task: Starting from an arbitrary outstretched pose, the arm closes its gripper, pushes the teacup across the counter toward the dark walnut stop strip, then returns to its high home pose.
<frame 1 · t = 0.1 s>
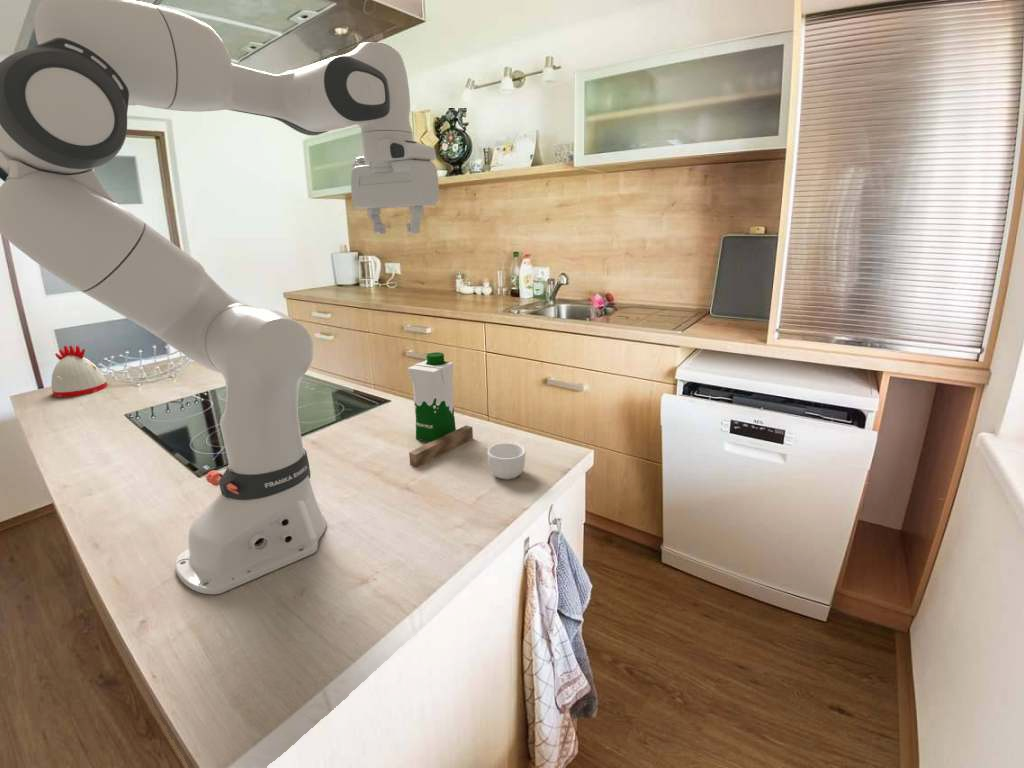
hand: (396, 233, 96), 48 cm above the counter, fingers open, 8 cm apart
crested hat: (81, 390, 168), on the counter
teacup: (503, 473, 107), on the counter
milk carton: (436, 436, 125), on the counter
stop strip: (443, 451, 117), on the counter
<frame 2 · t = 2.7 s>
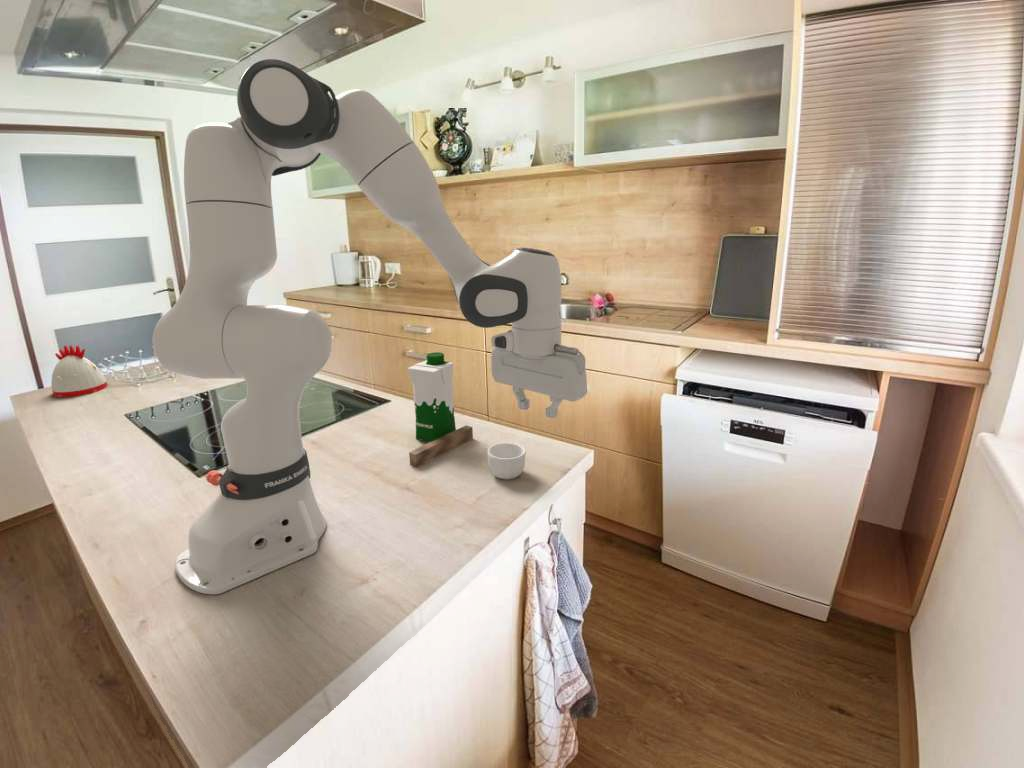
hand: (537, 412, 97), 15 cm above the counter, fingers open, 5 cm apart
nothing on the counter moved.
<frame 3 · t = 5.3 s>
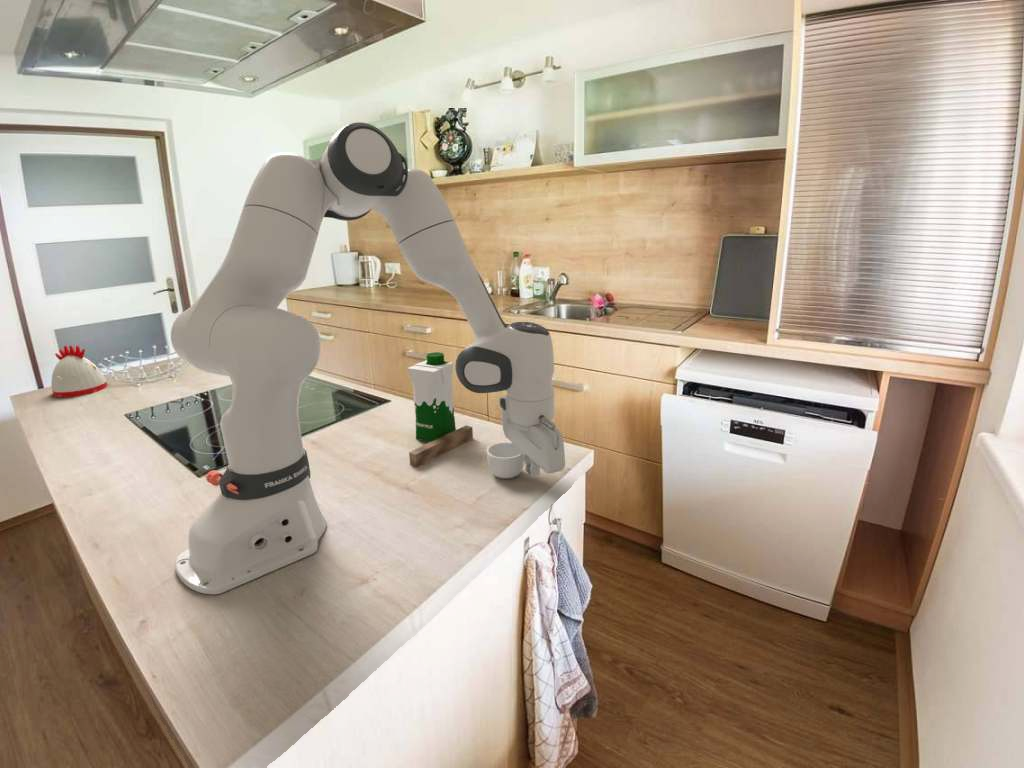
hand: (532, 473, 101), 2 cm above the counter, fingers closed
teacup: (503, 472, 107), on the counter, touching gripper
everything else where it was.
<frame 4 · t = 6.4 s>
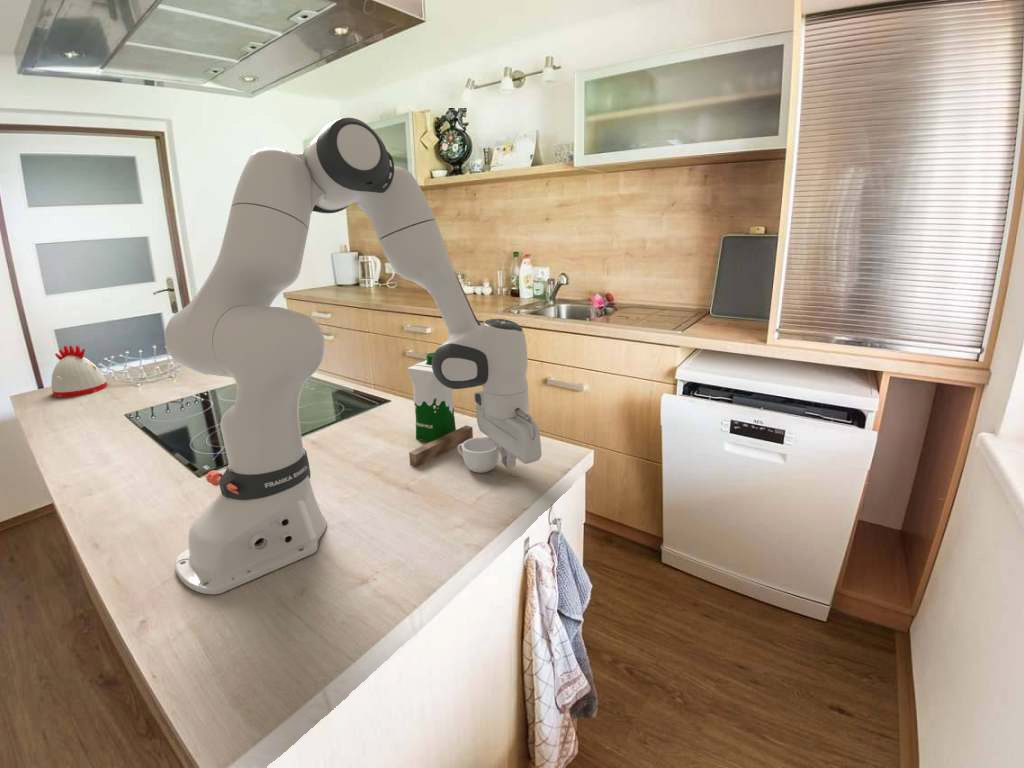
hand: (508, 465, 105), 2 cm above the counter, fingers closed
teacup: (477, 467, 109), on the counter, touching gripper
everything else where it was.
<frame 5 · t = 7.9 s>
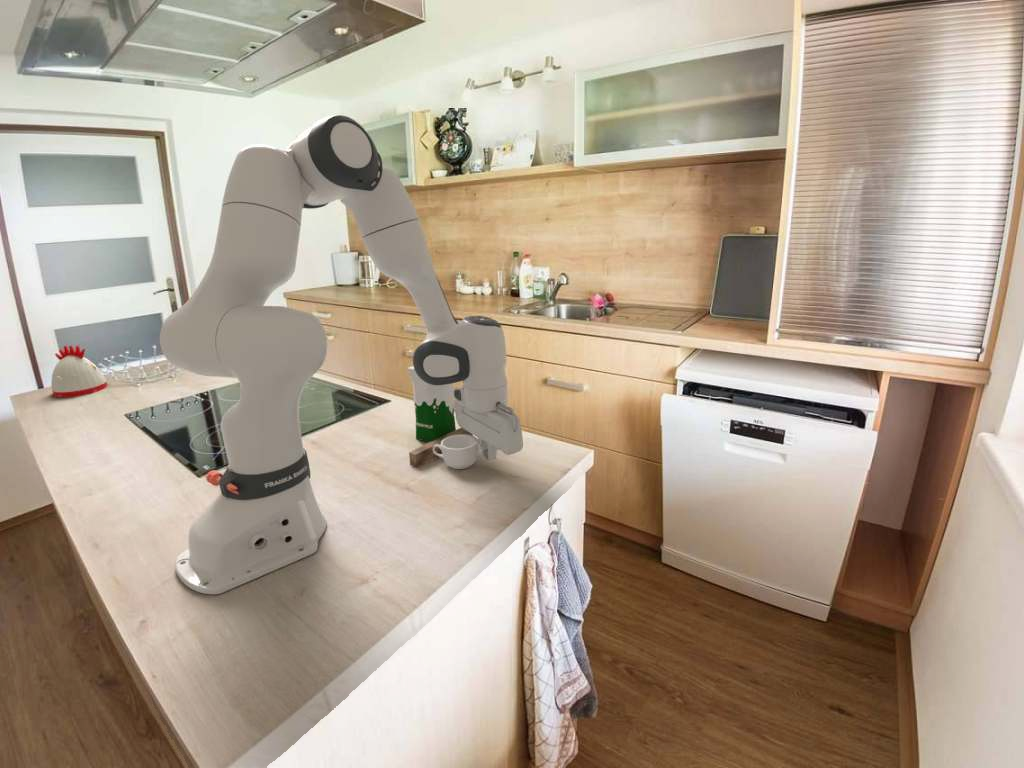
hand: (489, 458, 108), 2 cm above the counter, fingers closed
teacup: (456, 465, 111), on the counter, touching gripper
everything else where it was.
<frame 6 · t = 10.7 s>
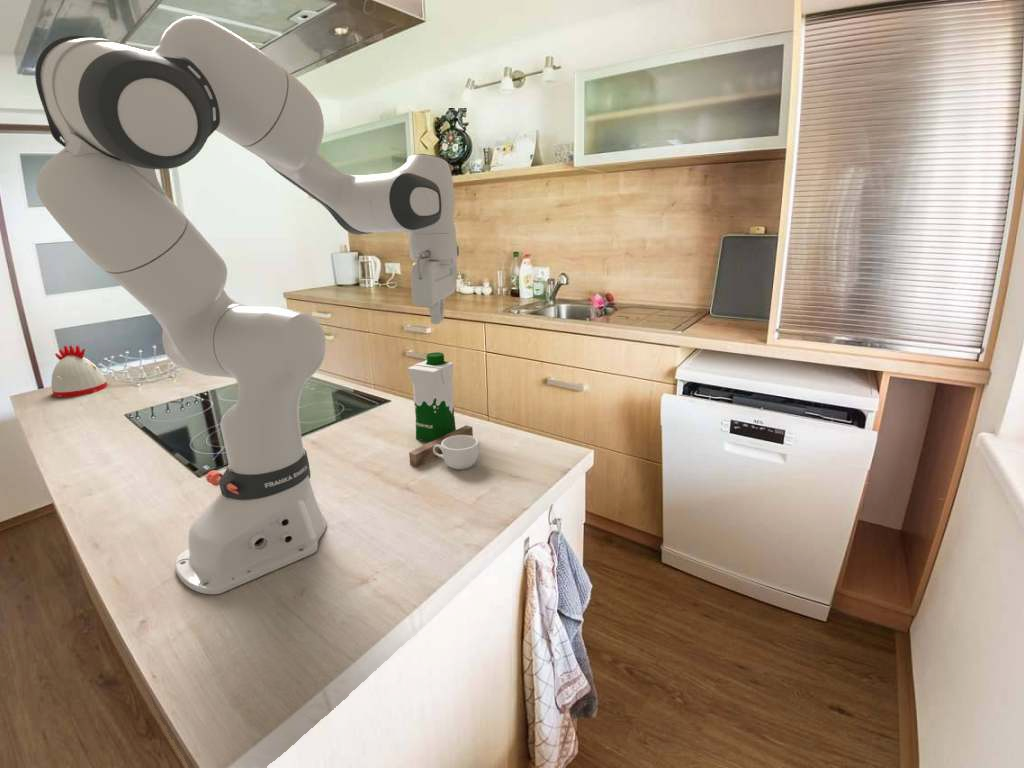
hand: (437, 322, 101), 31 cm above the counter, fingers closed
teacup: (456, 465, 111), on the counter
everything else where it was.
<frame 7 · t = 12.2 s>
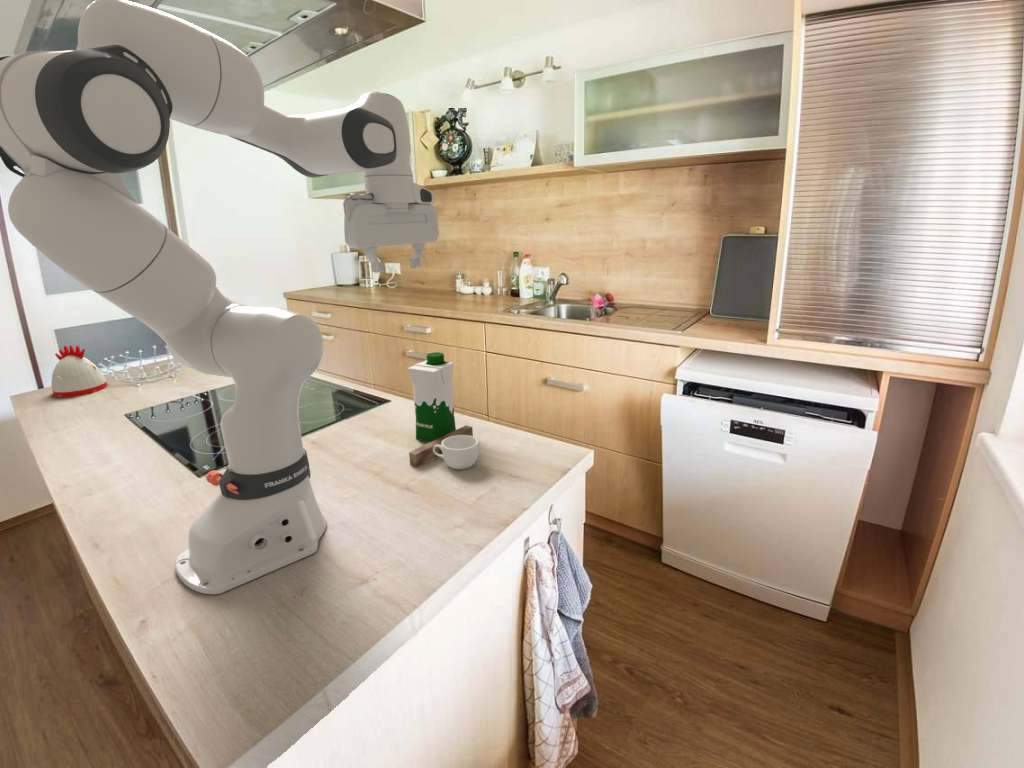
hand: (397, 269, 100), 41 cm above the counter, fingers open, 8 cm apart
nothing on the counter moved.
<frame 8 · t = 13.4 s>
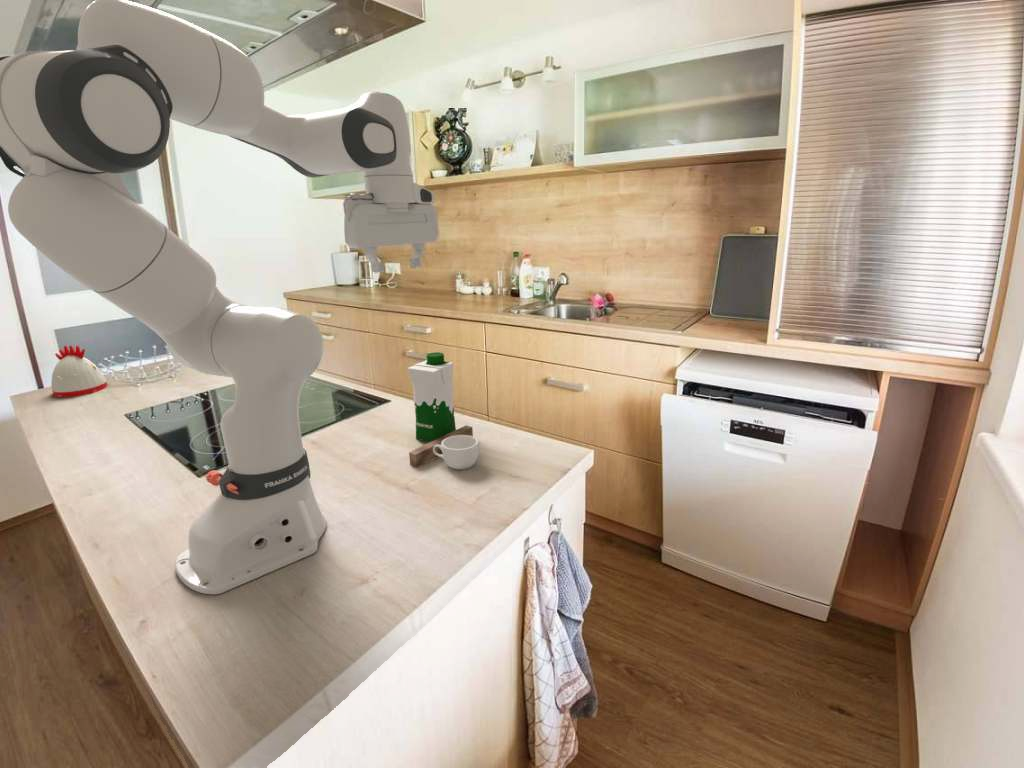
hand: (397, 269, 100), 41 cm above the counter, fingers open, 8 cm apart
nothing on the counter moved.
at the end: teacup inside the target area (3.1 cm from its centre), on the counter; teacup moved 11.0 cm from its start; the gripper is holding nothing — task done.
